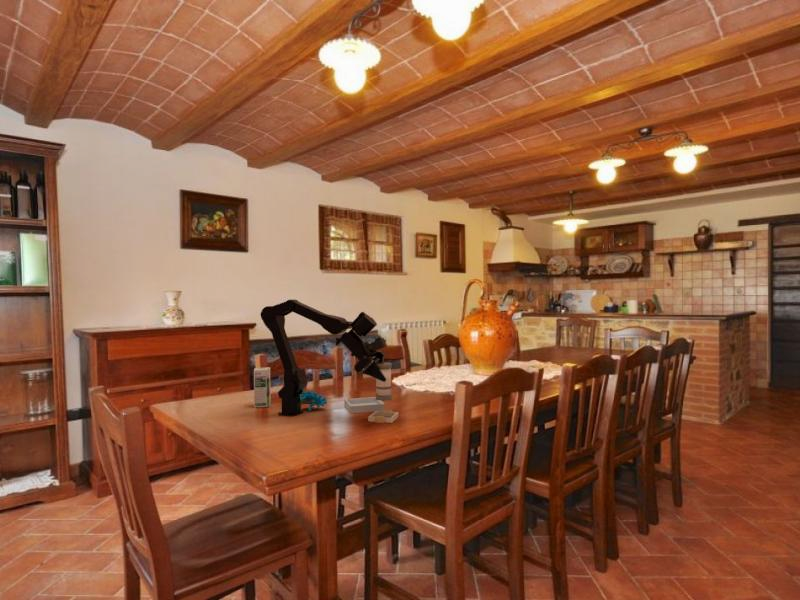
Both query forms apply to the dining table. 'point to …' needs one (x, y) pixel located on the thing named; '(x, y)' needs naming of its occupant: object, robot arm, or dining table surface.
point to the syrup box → (261, 387)
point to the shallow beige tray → (383, 416)
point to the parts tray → (364, 405)
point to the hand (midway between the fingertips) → (387, 379)
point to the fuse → (384, 387)
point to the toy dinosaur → (312, 399)
